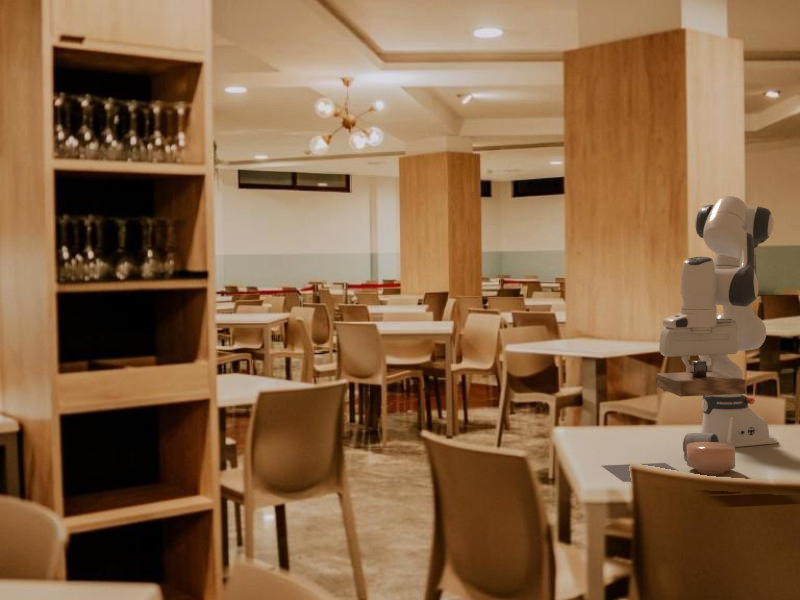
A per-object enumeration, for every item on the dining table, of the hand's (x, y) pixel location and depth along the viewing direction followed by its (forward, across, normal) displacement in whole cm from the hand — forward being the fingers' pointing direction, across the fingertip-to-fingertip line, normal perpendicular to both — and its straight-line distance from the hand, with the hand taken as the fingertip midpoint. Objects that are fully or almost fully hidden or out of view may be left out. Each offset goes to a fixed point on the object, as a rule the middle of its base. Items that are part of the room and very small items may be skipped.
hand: (699, 372), depth 242 cm
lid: (+5, 0, 0) cm, 5 cm away
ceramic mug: (+27, -6, -14) cm, 31 cm away
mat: (+26, +14, -1) cm, 30 cm away
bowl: (+26, -2, +1) cm, 27 cm away
